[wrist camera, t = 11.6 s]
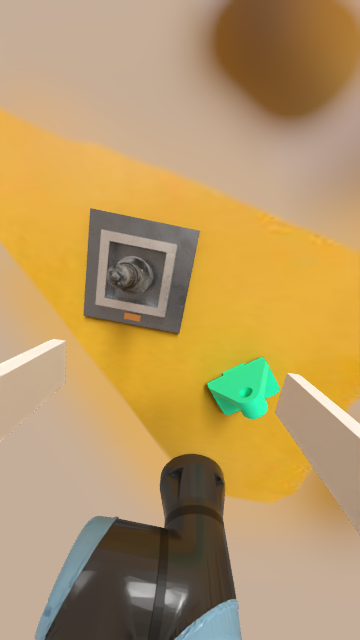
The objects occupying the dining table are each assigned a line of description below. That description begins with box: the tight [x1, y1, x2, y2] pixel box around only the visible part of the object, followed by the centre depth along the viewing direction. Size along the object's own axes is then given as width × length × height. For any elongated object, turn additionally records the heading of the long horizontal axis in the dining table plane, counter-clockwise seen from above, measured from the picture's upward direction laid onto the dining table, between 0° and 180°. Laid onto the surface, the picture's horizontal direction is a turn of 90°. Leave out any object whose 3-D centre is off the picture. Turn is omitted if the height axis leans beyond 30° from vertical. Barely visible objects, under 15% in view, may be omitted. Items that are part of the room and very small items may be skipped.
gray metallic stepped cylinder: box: [107, 256, 153, 295], centre depth 26 cm, size 6×6×12 cm
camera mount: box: [207, 357, 280, 419], centre depth 33 cm, size 12×8×10 cm, turn 120°
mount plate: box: [84, 208, 200, 333], centre depth 31 cm, size 18×18×4 cm
